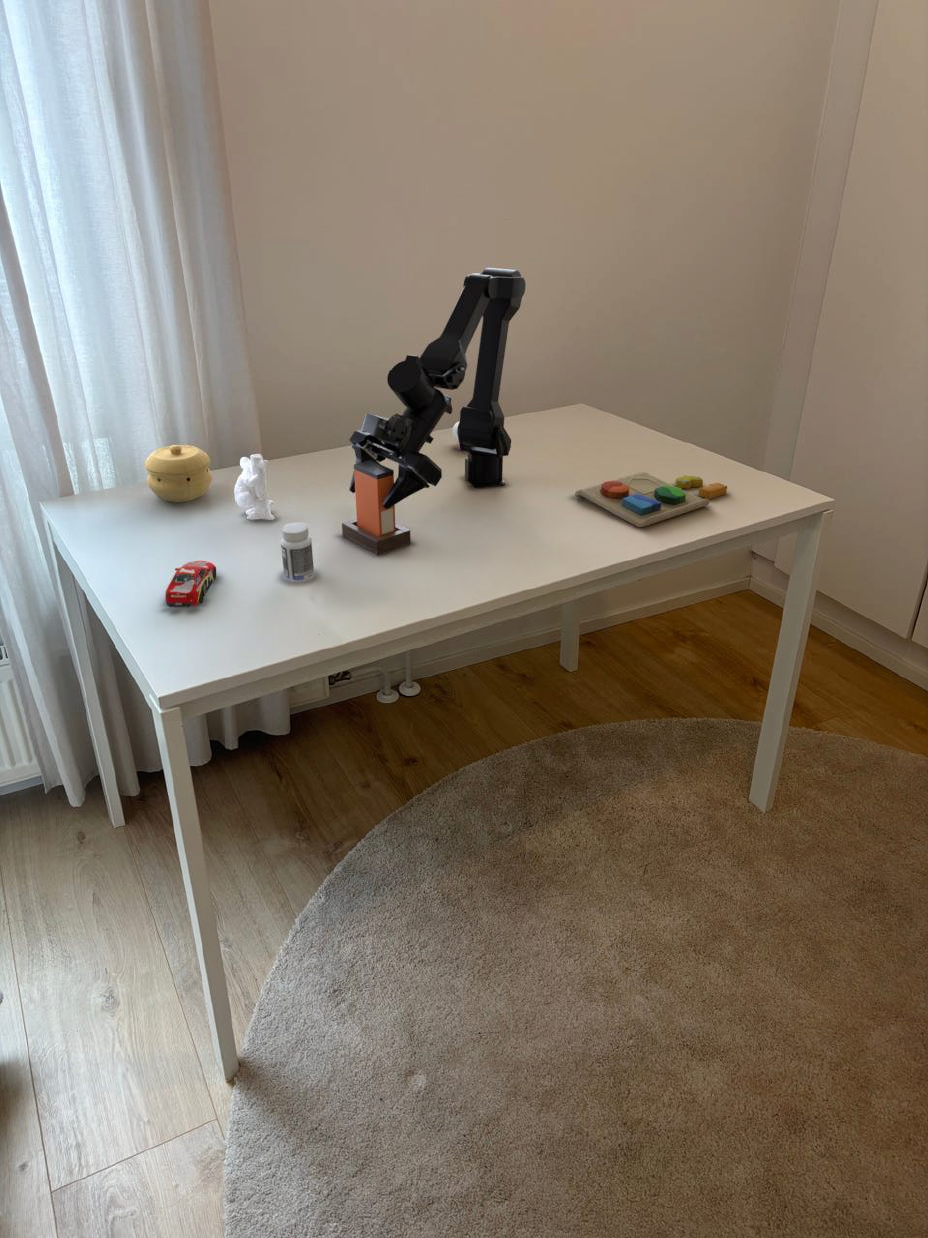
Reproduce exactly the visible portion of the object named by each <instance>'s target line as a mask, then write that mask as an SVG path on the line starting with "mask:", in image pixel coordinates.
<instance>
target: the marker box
mask: <svg viewBox="0 0 928 1238" xmlns="http://www.w3.org/2000/svg"><path fill="white" fill-rule="evenodd" d="M378 463H379V462H378ZM378 463H376V462H374V461H371V460H369V461H365V462H361V463H358V464H355V463H354V464H353V472H354V477H355V493H354V495H355V512H356V513H355V514H356V518H357V527H359V528H361V529H363V530H365V531H367V532H369V533H371V534H373V535H375V536H377V537H378V538H379V537H381V536H384V535H387V534H390V533H393V532H396V528H395V523H396V504H395V505H393V506H392V507H390V508H389V509H385V508H384V507H383V506H382V505H383V503H384V501H385V498H386V497H387V495H388V493H389V491H390V490H391V488H392V486H393V484H394V483H395V470H394V469H392V468H390V467H387V466H386V465H383V464H381V463H380V464H381V465H380V464H378Z"/></svg>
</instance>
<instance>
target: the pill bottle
mask: <svg viewBox="0 0 928 1238" xmlns="http://www.w3.org/2000/svg"><path fill="white" fill-rule="evenodd" d="M309 533H310V532H309V527H308V525H307V523H306V524H305V523H303V522H290V523H287V524H285V525H283V526H282V527H281V537H282V539H281V540H280V551H281V558H282V560H281V561H282V570H283V578H284V579H285V580H286V581H288V582H292V583H305V582H308V581H310V580H311V579H313V578H314V576H315V567H314V565H315V564H314V556H313V555H314V554H313V542H312V538H311V537H310V536H309Z"/></svg>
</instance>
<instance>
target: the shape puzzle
mask: <svg viewBox="0 0 928 1238" xmlns="http://www.w3.org/2000/svg"><path fill="white" fill-rule="evenodd" d="M674 483H675V484H674V485H673V484H670V483H668V482H666V481H664V480H661V479H660V478H658V477H656V476H654V475H652V474H650V473H648V472H645V471H640V472H637V473H633V474H630V475H626V476H623V477H618V478H616V479H612V480H608V481H604V482H602V483H599V484H596V485H592V486H588V487H585V488H582V489H578V490H576V491H575V492H574V494H575V497H576V498H581V497H583V498H585V499H587V500H589V501H590V502H592V503H593V504H595V505H597V506H599V507H601V508H603V509H605V510H606V511H608V512H609V513H612V514H614V515H615V516H617V517H619V518H621V519H623V520H625V521H626V522H629V523H630V524H631V525H634V526H636V527H639V528H644V527H647V526H650V525H652V524H656V523H659V522H662V521H664V520H668V519H672V518H673V517H676V516H677V517H678V516H679V515H683V514H686V513H689V512H692V511H695V510H697V509H701V508H703V507H707V506H709V505H710V503H711V500H712V499H714V498H718V497H721V496H724V495H726V494H727V492H728V491H727V490H728V485H725V484H722V483H720V482H713V483H708V485H707V486H703V483H704V480H703V478H701V477H700V476H694V475H687V474H686V475H682V476H679V477H677V478H675V482H674ZM690 488H698V493H697V495H698V496H699V497H701V498H704V499H700V498H699V497H696V496H694V495H693V494H691V493H688V492H686V491H684V489H685V490H688V489H690Z"/></svg>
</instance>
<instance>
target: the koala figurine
mask: <svg viewBox="0 0 928 1238" xmlns="http://www.w3.org/2000/svg"><path fill="white" fill-rule="evenodd" d="M268 463H269V460H268V459H264V458H263V456H262V454H260V453H254V454H253V453H252V454H250V456H249V457H248V456H242V457H241V458H240V461H239V465H240V468H241V469H242V472H241V474H240V475H239V476H238V478H237V480H236V483H235V485H234V488H233V489H234V490H233V491H234V500H235V502H236V503H237V505H238V506H239V507H241V508H247V507H253V508H249V509H247V510H246V511H245V513H246V515H247V517H246V519H247V520H270V521H272V520H273V521H274V520H275V516H274V515H273V514H272V513H271V511H272V510H271V508H272V506H273V505H274V501H273V500H271V499H269V495H268V489H267V484H268V482H267V481H268V480H267V477H266V473H267V470H266V469H267V465H268Z"/></svg>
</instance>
